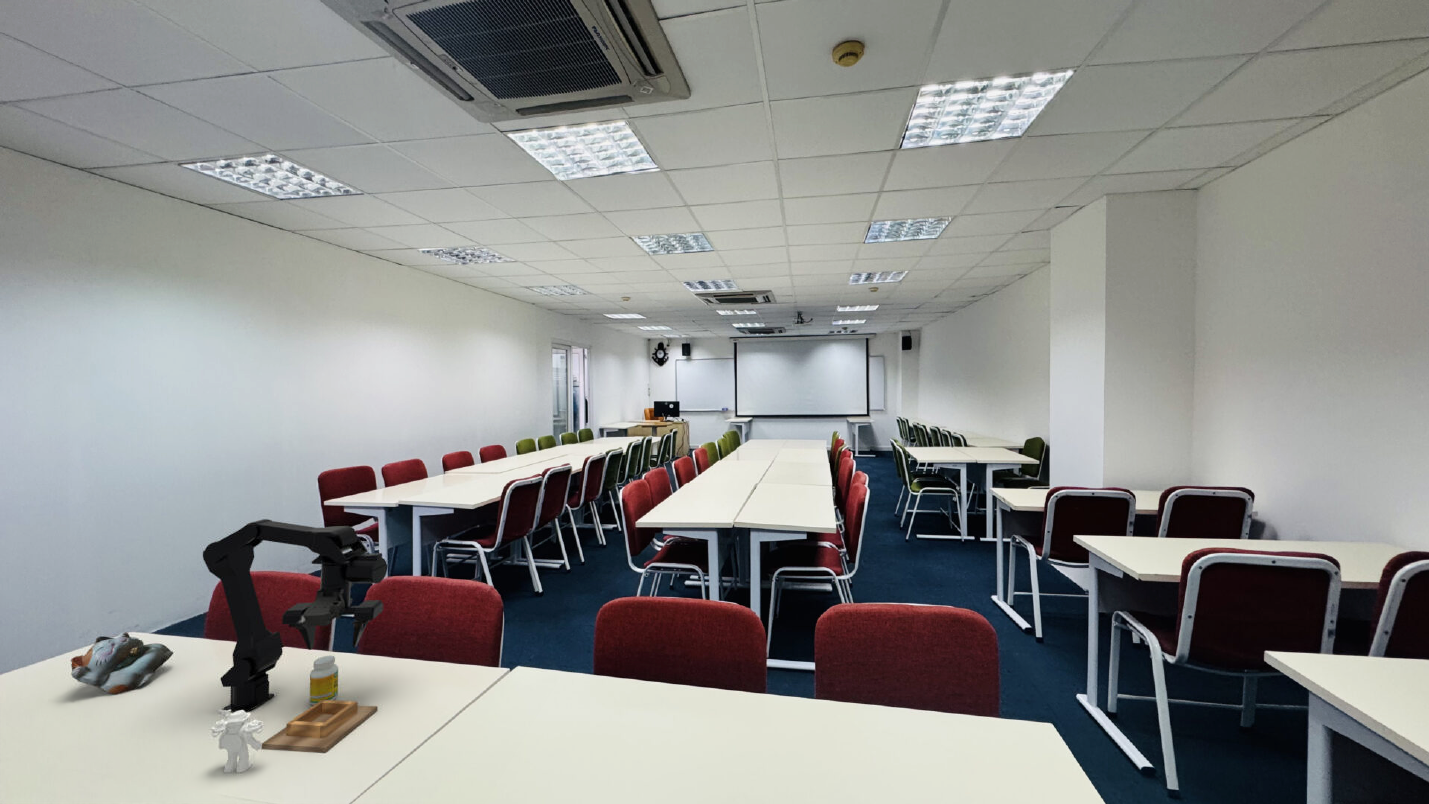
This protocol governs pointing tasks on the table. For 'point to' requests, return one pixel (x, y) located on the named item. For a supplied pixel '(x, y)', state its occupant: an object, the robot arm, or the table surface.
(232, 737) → the flower shoulder figurine
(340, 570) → the robot arm
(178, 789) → the table surface
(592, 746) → the table surface
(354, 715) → the socket
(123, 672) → the lucky cat figurine
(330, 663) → the supplement bottle
